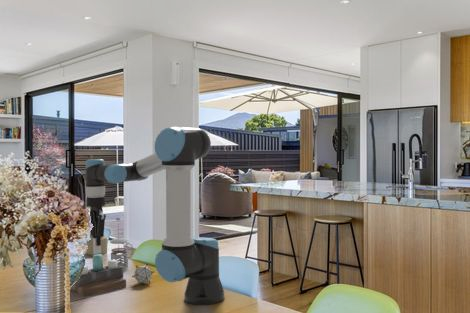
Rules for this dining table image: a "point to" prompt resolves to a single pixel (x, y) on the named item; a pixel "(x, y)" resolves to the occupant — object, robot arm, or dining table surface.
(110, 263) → the grey plug
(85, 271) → the grey plug
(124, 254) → the french press
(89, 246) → the sugar bowl
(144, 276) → the grey spiky ball
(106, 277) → the socket board
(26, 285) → the dining table surface
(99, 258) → the teal plug
